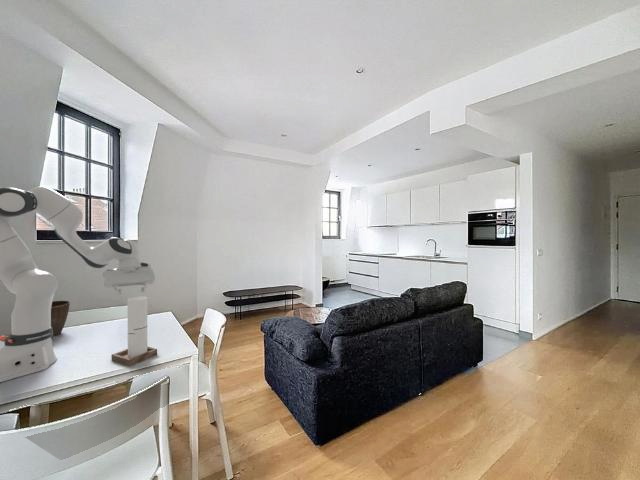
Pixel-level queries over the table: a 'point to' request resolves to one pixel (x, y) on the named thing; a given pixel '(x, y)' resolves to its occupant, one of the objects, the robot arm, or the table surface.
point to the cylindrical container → (137, 326)
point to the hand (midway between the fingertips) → (131, 292)
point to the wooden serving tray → (123, 357)
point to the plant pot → (59, 315)
